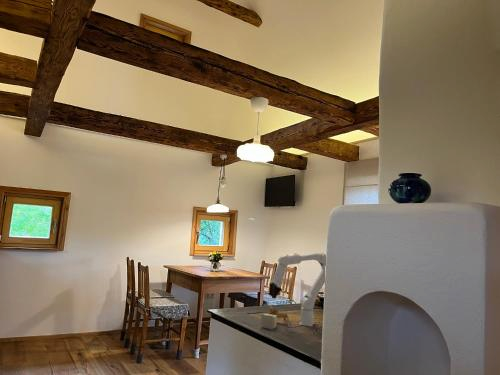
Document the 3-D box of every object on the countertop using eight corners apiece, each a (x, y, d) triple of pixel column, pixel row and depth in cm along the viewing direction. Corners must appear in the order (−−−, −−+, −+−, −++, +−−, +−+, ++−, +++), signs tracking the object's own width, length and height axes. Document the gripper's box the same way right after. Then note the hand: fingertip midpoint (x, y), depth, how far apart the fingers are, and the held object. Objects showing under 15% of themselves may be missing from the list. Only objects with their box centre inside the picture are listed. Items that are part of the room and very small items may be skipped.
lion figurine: (266, 322, 225) (267, 307, 226) (268, 320, 230) (269, 305, 231) (290, 325, 220) (291, 310, 221) (292, 323, 226) (292, 308, 226)
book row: (265, 324, 221) (265, 312, 221) (276, 326, 218) (276, 313, 219) (260, 327, 214) (261, 314, 215) (272, 329, 211) (273, 316, 212)
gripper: (270, 271, 233) (263, 292, 232) (275, 274, 219) (268, 297, 217) (281, 274, 234) (274, 296, 232) (286, 278, 220) (279, 301, 218)
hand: (272, 296), depth 225 cm, fingers open, 7 cm apart
